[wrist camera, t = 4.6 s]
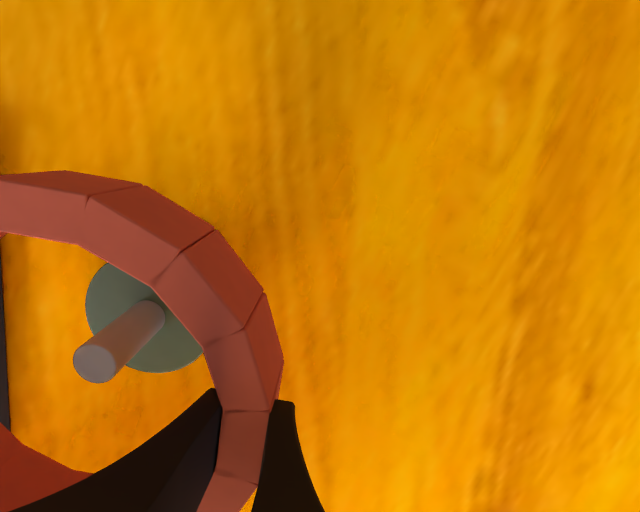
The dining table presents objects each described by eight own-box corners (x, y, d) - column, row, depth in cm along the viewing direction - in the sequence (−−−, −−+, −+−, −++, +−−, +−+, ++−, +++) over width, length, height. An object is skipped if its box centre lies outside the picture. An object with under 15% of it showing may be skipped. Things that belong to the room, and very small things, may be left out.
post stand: (212, 374, 20) (171, 447, 15) (94, 353, 20) (15, 419, 15) (224, 260, 18) (182, 301, 13) (95, 238, 18) (7, 271, 13)
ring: (257, 528, 16) (239, 609, 13) (-61, 472, 16) (-147, 542, 13) (308, 212, 13) (299, 231, 10) (-100, 141, 13) (-228, 138, 10)
